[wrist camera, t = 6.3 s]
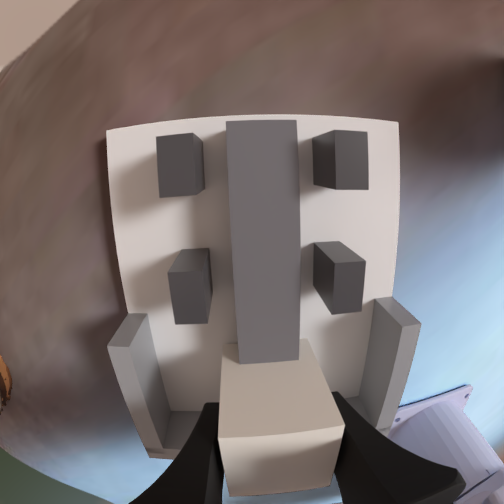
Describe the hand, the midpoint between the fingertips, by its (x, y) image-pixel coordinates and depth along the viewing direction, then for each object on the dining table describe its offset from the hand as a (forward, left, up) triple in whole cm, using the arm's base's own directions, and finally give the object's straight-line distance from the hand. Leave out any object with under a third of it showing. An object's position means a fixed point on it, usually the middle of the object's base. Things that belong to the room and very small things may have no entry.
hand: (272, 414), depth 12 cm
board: (+4, 0, -4) cm, 6 cm away
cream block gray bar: (+5, 0, -3) cm, 6 cm away
